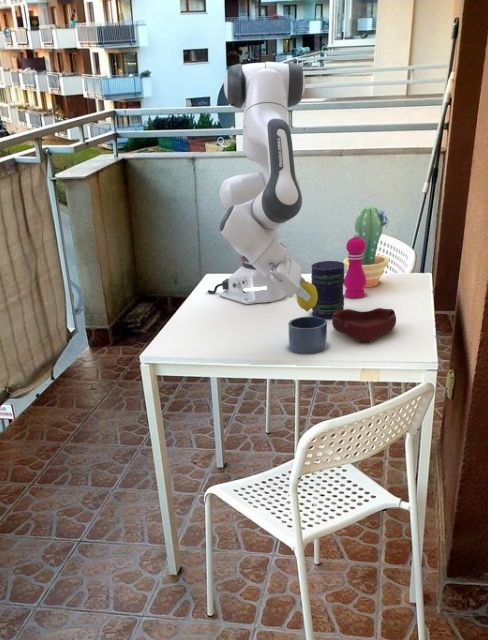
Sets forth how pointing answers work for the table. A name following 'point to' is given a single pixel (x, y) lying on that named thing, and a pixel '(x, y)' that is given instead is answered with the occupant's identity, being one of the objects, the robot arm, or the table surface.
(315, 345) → the cup
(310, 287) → the lemon
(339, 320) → the ashtray
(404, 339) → the table surface
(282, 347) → the table surface
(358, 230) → the potted cactus
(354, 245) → the pepper mill
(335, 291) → the dark blue barrel
